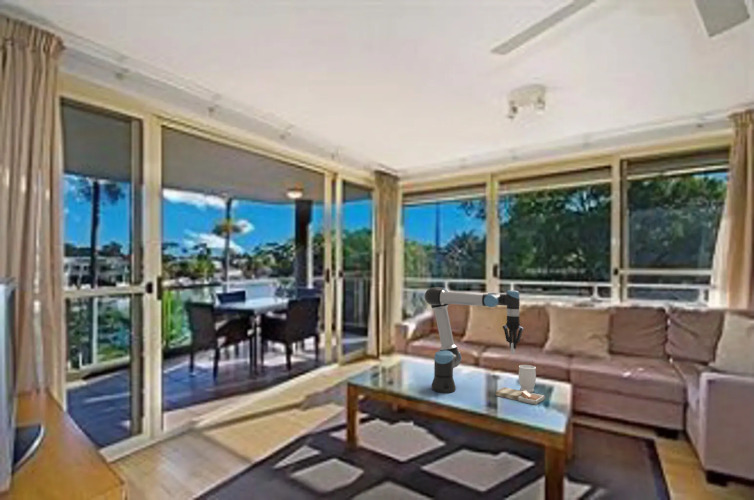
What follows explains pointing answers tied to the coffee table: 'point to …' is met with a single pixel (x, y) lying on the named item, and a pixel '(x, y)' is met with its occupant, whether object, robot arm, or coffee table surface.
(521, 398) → the tray
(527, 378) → the jar
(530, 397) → the tile front
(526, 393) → the tile rear
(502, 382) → the coffee table surface
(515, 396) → the board
